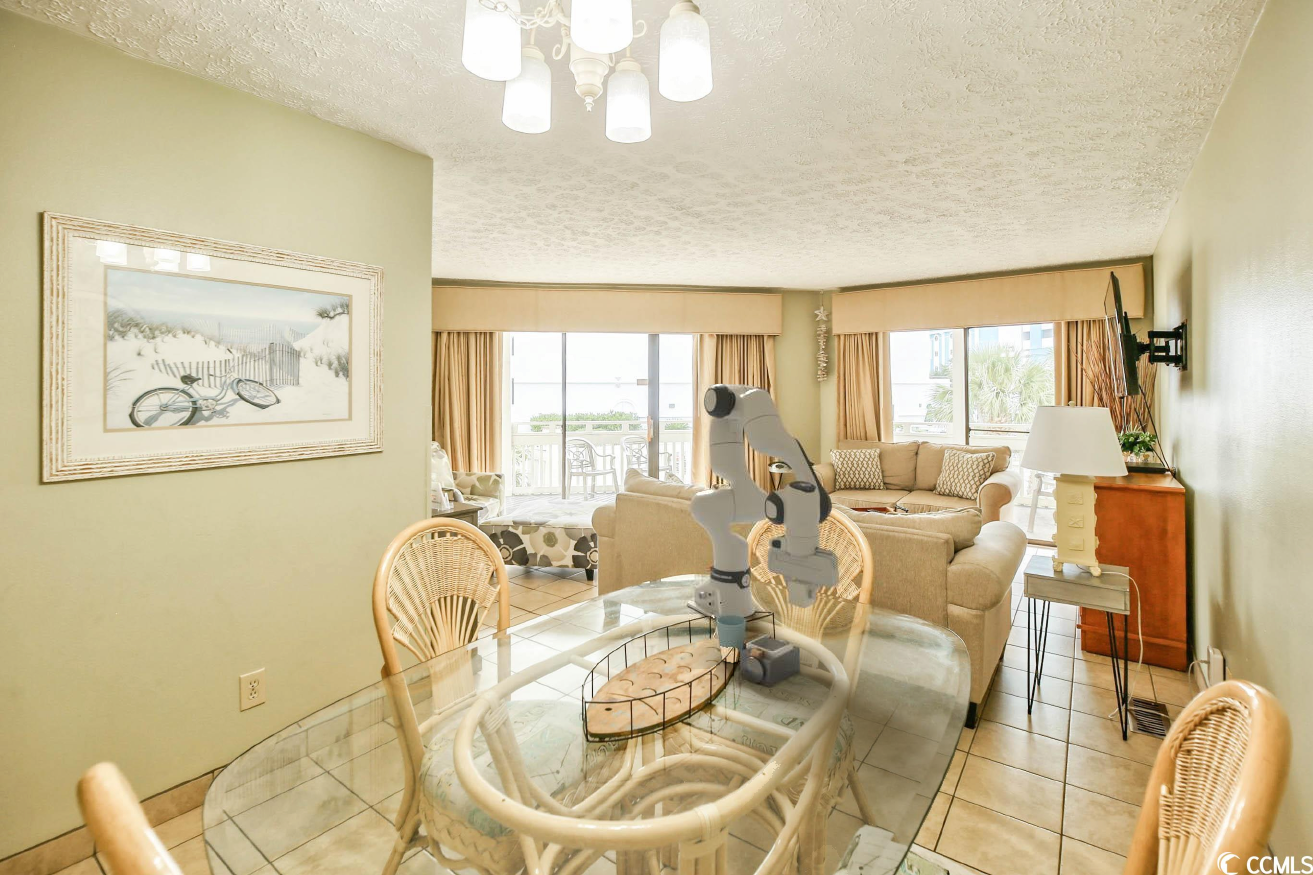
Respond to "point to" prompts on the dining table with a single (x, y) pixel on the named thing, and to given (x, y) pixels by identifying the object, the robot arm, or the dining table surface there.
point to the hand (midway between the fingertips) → (801, 595)
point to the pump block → (799, 593)
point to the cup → (731, 631)
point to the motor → (769, 661)
